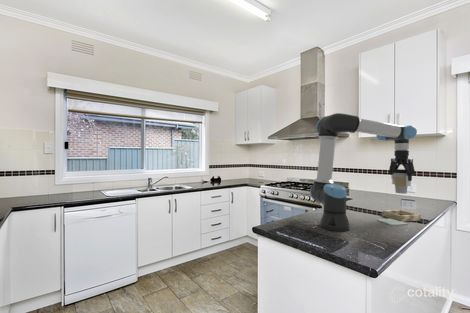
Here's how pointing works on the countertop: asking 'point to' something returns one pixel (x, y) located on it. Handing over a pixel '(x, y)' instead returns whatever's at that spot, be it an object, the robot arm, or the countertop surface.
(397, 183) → the coffee cup
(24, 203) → the countertop surface
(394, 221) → the coaster
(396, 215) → the holder
